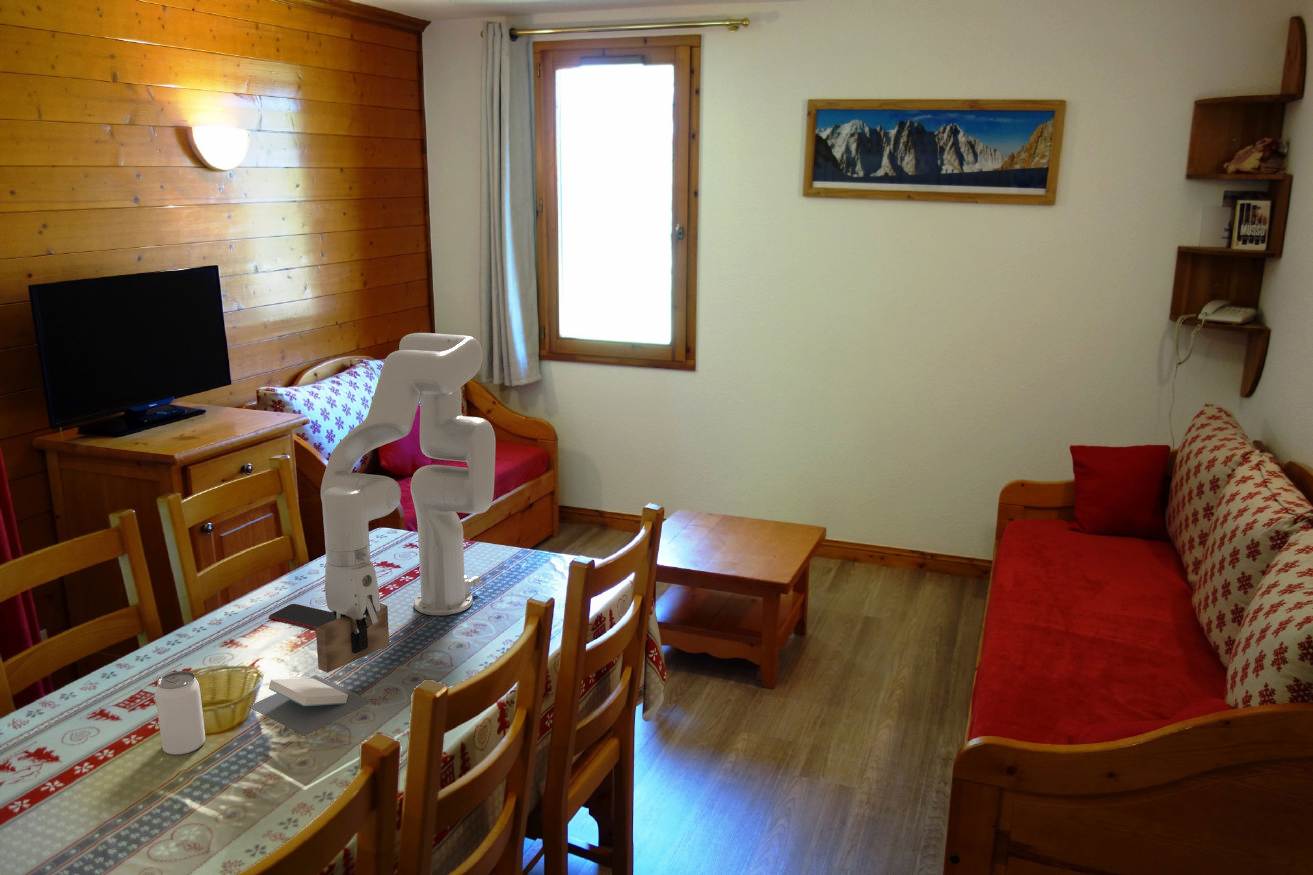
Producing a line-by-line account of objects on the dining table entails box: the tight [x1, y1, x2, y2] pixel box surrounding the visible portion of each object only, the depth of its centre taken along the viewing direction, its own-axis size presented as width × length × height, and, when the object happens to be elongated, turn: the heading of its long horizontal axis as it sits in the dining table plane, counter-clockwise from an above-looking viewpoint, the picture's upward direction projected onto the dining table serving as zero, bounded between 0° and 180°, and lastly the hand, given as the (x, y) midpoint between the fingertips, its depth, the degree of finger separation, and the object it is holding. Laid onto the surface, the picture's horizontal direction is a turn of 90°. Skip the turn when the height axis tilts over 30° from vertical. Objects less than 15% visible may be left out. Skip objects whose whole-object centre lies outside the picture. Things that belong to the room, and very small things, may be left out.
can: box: [155, 670, 206, 756], centre depth 161 cm, size 6×6×12 cm
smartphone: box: [268, 603, 336, 631], centre depth 210 cm, size 7×1×15 cm
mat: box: [251, 674, 373, 737], centre depth 175 cm, size 14×16×1 cm
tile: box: [268, 677, 348, 706], centre depth 174 cm, size 2×10×9 cm
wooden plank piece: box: [315, 602, 390, 674], centre depth 181 cm, size 14×2×8 cm, turn 145°
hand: (354, 647), depth 181 cm, fingers closed on wooden plank piece, 2 cm apart
